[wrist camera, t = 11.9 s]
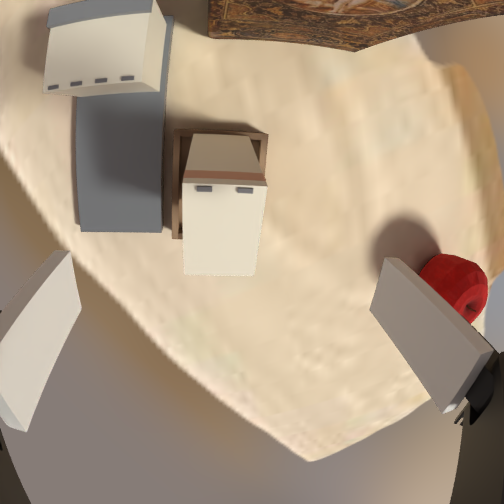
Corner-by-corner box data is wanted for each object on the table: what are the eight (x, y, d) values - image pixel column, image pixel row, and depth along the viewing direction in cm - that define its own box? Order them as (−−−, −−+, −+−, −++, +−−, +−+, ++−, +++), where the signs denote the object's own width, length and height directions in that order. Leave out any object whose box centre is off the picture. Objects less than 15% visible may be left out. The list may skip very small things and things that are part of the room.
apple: (419, 234, 36) (472, 272, 26) (461, 246, 38) (510, 280, 28) (392, 299, 40) (433, 347, 30) (436, 303, 42) (476, 344, 32)
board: (89, 27, 21) (85, 24, 20) (174, 19, 23) (173, 15, 22) (84, 227, 30) (81, 231, 29) (162, 228, 32) (161, 232, 30)
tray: (176, 129, 28) (173, 129, 26) (264, 133, 29) (268, 134, 27) (174, 231, 32) (172, 238, 30) (255, 233, 33) (258, 241, 31)
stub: (193, 133, 26) (181, 184, 17) (249, 135, 27) (268, 187, 18) (191, 201, 30) (183, 276, 21) (241, 203, 31) (254, 277, 22)
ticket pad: (87, 32, 21) (49, 8, 13) (167, 24, 22) (153, -9, 14) (80, 97, 24) (37, 93, 16) (160, 91, 25) (141, 80, 17)
